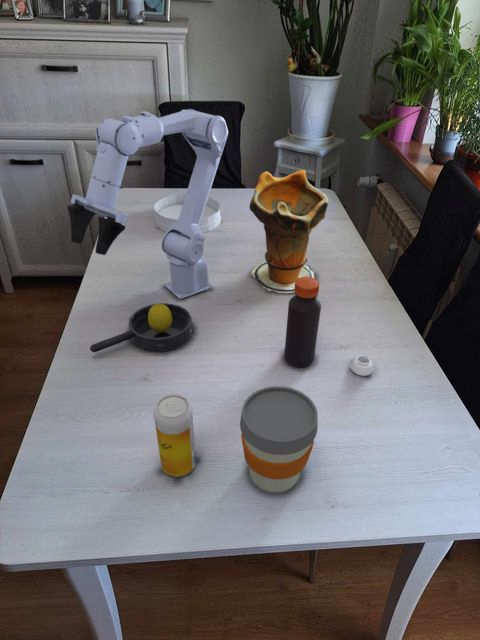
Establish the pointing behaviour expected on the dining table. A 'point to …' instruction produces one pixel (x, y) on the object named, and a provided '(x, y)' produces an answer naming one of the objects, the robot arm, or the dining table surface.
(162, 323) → the lemon
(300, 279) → the bottle
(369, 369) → the lidless jar
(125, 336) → the pan handle
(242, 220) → the dining table surface
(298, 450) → the reusable coffee cup
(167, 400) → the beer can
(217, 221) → the dish
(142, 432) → the dining table surface
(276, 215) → the decorative vase
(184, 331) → the pan
